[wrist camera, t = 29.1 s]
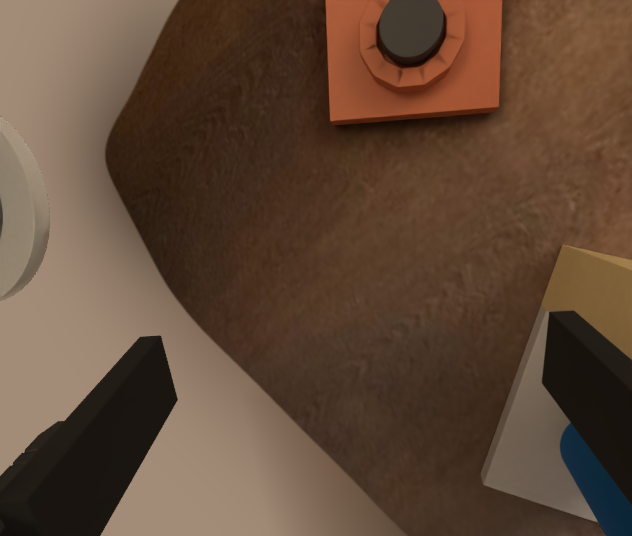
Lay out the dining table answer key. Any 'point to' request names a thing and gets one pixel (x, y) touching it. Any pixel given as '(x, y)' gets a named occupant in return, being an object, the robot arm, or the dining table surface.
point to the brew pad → (412, 80)
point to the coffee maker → (532, 397)
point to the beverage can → (596, 485)
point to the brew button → (410, 29)
